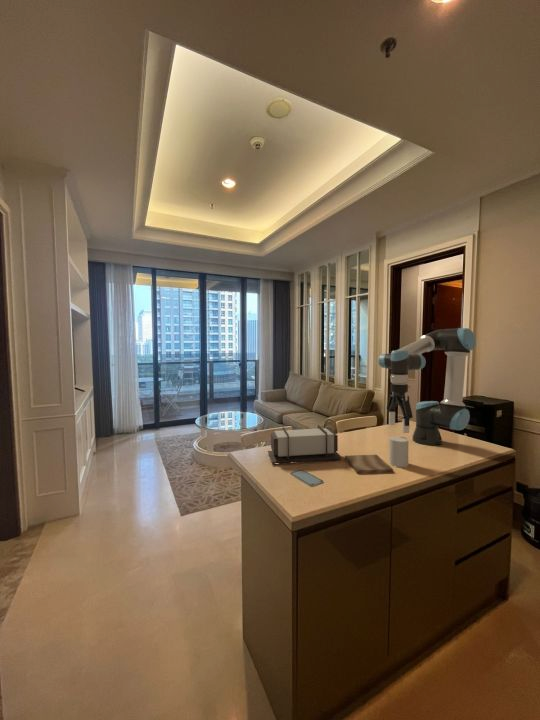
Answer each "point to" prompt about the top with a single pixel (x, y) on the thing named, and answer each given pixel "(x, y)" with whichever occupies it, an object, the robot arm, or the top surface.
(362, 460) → the walnut board
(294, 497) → the top surface
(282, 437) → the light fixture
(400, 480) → the top surface
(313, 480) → the smartphone
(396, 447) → the beige cylinder
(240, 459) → the top surface
